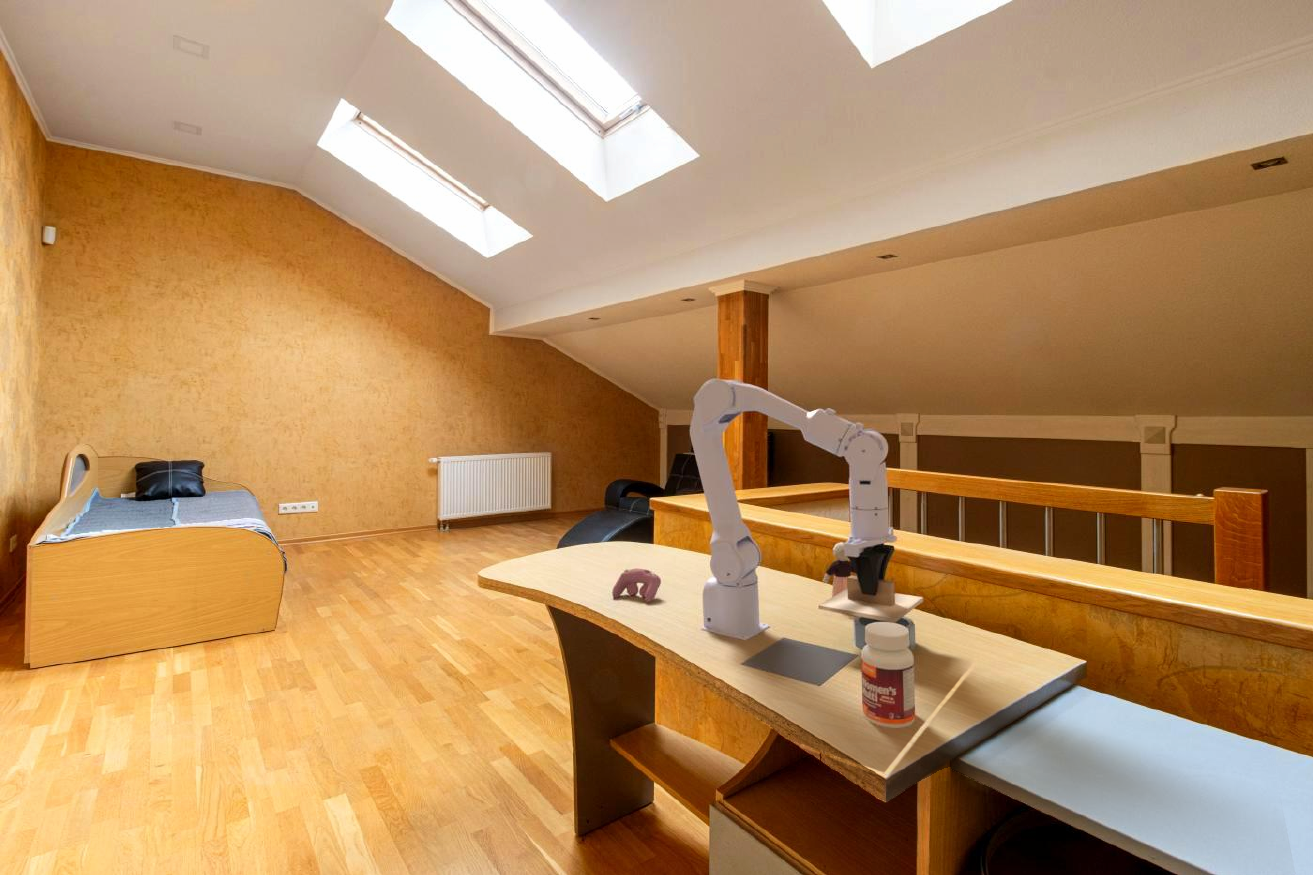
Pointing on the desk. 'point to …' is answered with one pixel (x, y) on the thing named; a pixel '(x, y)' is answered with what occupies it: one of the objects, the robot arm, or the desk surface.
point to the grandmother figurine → (839, 570)
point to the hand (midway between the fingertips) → (871, 592)
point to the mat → (800, 661)
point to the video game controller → (637, 576)
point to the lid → (872, 602)
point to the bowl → (862, 621)
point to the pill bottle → (888, 675)
